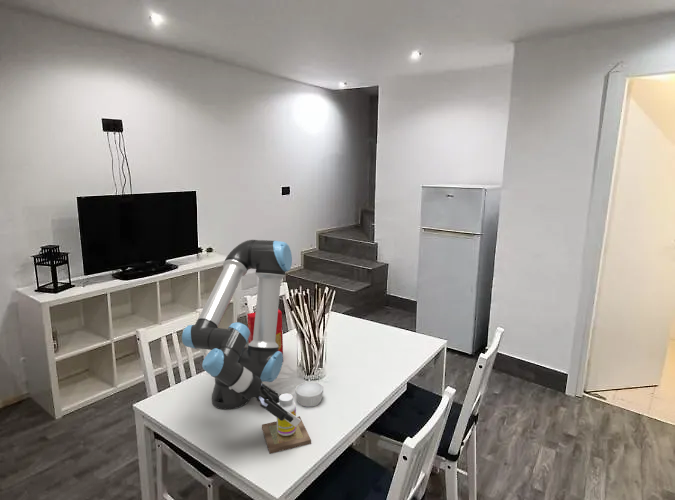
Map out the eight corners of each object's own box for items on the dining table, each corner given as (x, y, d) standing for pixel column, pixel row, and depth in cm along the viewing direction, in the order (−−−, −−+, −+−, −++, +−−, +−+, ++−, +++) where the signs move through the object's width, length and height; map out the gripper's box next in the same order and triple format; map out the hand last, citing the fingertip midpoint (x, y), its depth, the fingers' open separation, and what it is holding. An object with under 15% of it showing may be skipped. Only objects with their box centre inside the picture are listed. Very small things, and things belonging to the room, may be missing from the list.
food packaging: (252, 368, 189) (250, 317, 184) (249, 364, 194) (247, 313, 188) (283, 361, 196) (281, 312, 191) (279, 357, 200) (277, 308, 195)
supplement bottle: (298, 434, 141) (297, 400, 138) (279, 438, 139) (278, 404, 136) (293, 422, 147) (293, 390, 144) (275, 426, 145) (274, 393, 142)
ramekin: (303, 390, 171) (302, 379, 170) (327, 396, 167) (327, 384, 166) (290, 405, 161) (290, 392, 160) (316, 411, 157) (316, 398, 156)
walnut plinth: (261, 428, 147) (261, 424, 147) (299, 419, 152) (299, 416, 152) (269, 453, 134) (269, 449, 134) (311, 443, 139) (310, 439, 139)
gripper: (233, 377, 143) (281, 409, 152) (241, 408, 125) (295, 443, 134) (248, 360, 143) (295, 394, 152) (258, 389, 125) (310, 425, 134)
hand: (295, 417), depth 143 cm, fingers closed on supplement bottle, 7 cm apart
